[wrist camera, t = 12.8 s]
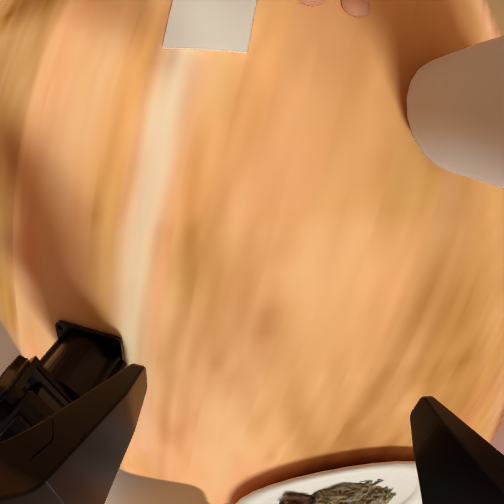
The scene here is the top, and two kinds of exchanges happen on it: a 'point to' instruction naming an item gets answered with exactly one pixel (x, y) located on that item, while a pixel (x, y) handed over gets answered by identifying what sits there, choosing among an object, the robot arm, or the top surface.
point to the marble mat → (224, 23)
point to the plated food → (346, 486)
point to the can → (462, 111)
